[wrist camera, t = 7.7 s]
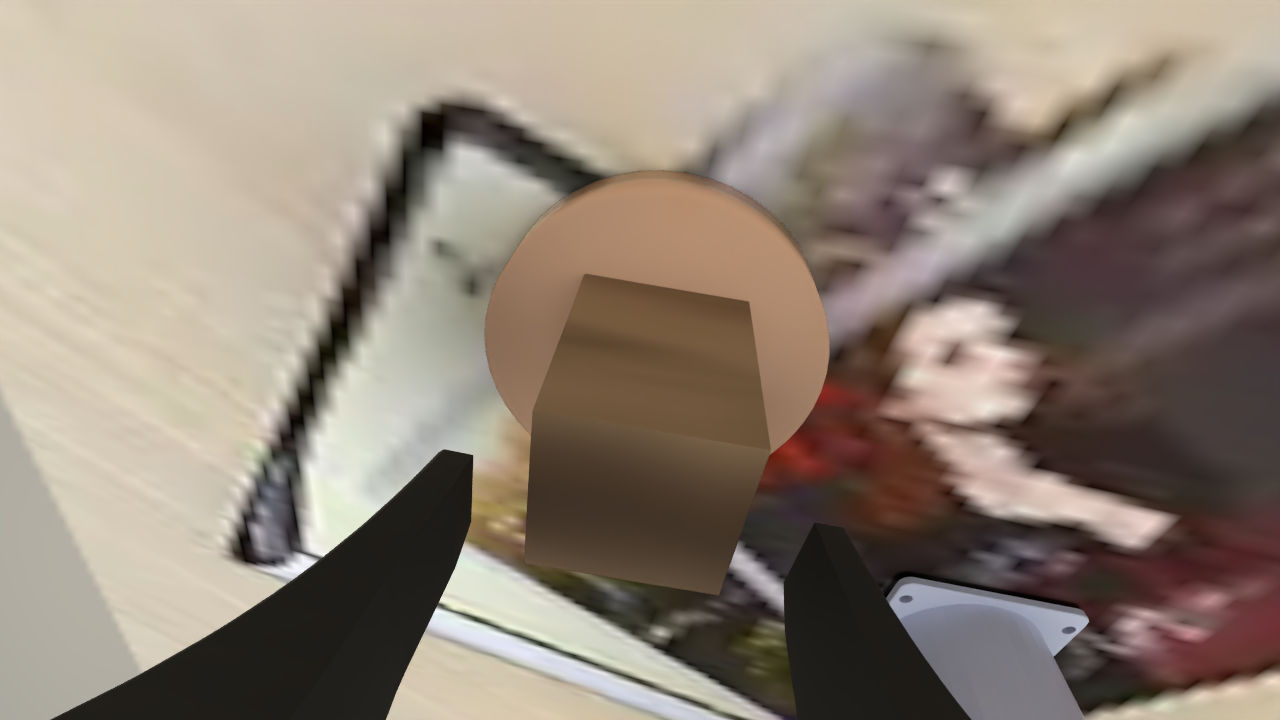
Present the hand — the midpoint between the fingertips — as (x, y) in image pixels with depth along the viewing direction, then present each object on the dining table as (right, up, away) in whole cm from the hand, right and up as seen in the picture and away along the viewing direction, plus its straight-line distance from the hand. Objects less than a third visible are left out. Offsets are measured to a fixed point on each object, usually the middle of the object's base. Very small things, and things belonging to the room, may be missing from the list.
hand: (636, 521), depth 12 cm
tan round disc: (+1, +5, +7) cm, 8 cm away
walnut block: (0, +4, +5) cm, 6 cm away
